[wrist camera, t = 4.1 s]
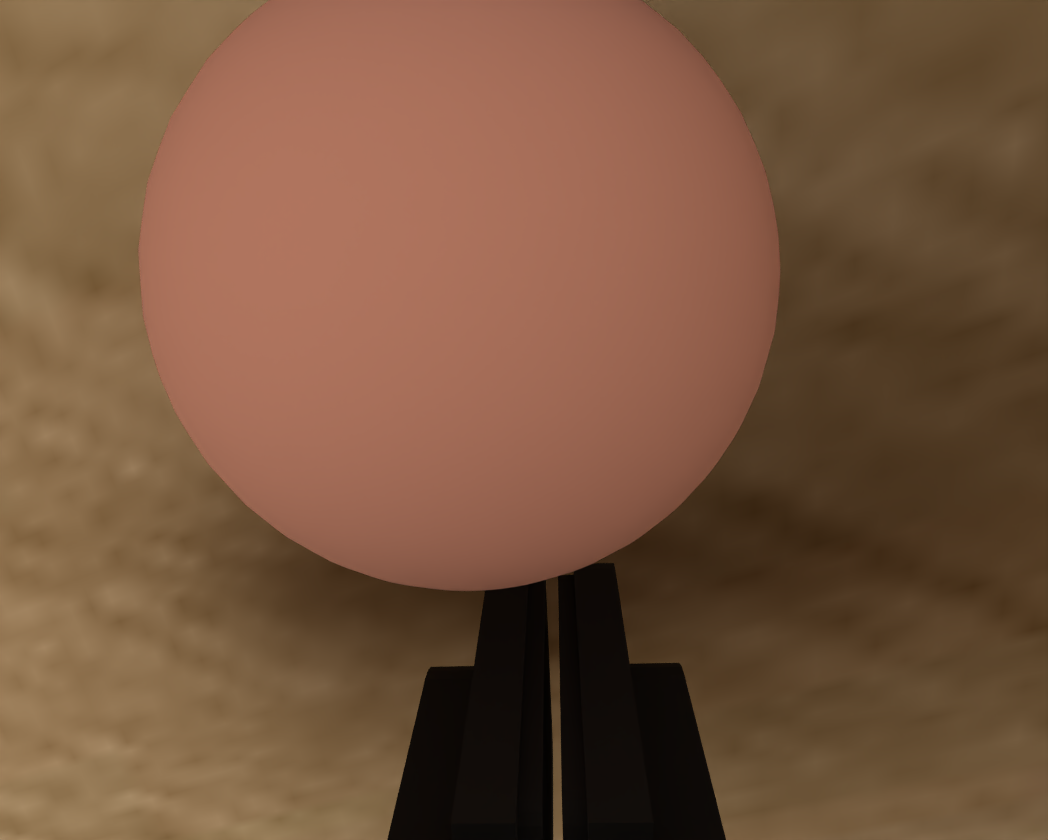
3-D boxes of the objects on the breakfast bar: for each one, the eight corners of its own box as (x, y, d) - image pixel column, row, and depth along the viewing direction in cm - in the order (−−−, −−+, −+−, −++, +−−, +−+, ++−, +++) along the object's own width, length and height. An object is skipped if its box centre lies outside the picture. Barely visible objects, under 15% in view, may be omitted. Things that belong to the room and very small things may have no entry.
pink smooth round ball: (810, 610, 8) (704, 214, 10) (1012, 285, 3) (712, -305, 5) (313, 674, 8) (333, 290, 11) (-205, 504, 4) (50, -105, 6)
